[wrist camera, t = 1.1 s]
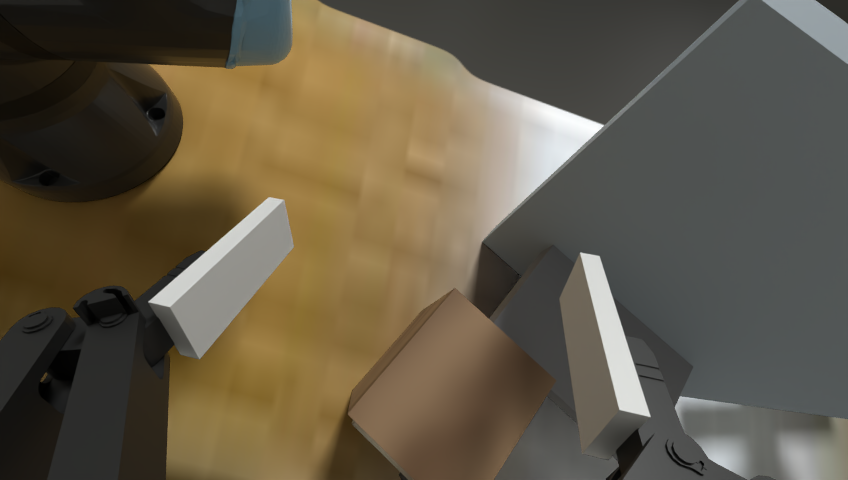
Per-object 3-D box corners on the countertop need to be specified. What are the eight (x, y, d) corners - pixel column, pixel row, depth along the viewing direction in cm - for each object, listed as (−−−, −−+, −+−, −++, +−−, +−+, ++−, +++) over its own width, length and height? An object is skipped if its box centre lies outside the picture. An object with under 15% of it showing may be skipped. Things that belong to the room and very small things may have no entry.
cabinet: (342, 402, 29) (330, 434, 17) (421, 310, 32) (455, 287, 21) (412, 471, 28) (448, 551, 17) (486, 370, 31) (556, 380, 20)
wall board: (425, 306, 32) (628, 163, 8) (493, 228, 36) (772, -31, 12) (608, 476, 30) (1617, 979, 6) (660, 375, 34) (1404, 433, 10)
